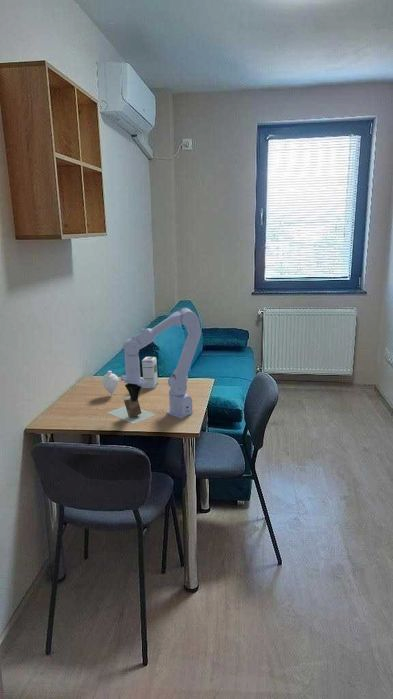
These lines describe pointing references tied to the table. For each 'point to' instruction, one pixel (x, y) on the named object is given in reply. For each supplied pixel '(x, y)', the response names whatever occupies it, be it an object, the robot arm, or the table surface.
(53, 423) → the table surface
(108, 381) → the spinning top
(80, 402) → the table surface
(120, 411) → the sage mat
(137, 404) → the brown and white block
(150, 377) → the syrup box
